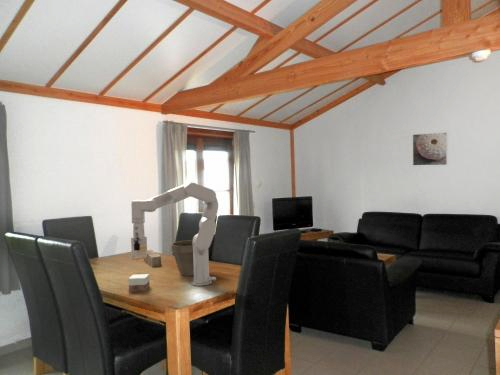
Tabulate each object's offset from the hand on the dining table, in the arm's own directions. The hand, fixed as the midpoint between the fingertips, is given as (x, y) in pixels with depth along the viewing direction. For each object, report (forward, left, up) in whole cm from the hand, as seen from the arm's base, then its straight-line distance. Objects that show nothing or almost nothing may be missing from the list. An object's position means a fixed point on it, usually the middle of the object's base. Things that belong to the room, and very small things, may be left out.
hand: (138, 248), depth 241 cm
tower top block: (0, 0, -21) cm, 21 cm away
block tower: (+7, -76, -25) cm, 80 cm away
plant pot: (-27, -36, -25) cm, 51 cm away
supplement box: (0, 0, -6) cm, 6 cm away
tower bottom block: (0, 0, -25) cm, 25 cm away
